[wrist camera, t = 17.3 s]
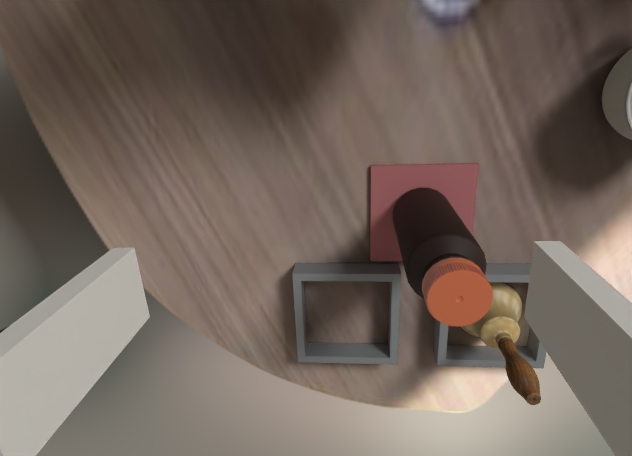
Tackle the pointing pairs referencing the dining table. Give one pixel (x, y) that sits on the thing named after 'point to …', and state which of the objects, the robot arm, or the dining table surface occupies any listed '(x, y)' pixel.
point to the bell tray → (486, 354)
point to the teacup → (619, 96)
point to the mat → (400, 179)
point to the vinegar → (441, 258)
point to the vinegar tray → (347, 351)
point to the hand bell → (507, 339)
